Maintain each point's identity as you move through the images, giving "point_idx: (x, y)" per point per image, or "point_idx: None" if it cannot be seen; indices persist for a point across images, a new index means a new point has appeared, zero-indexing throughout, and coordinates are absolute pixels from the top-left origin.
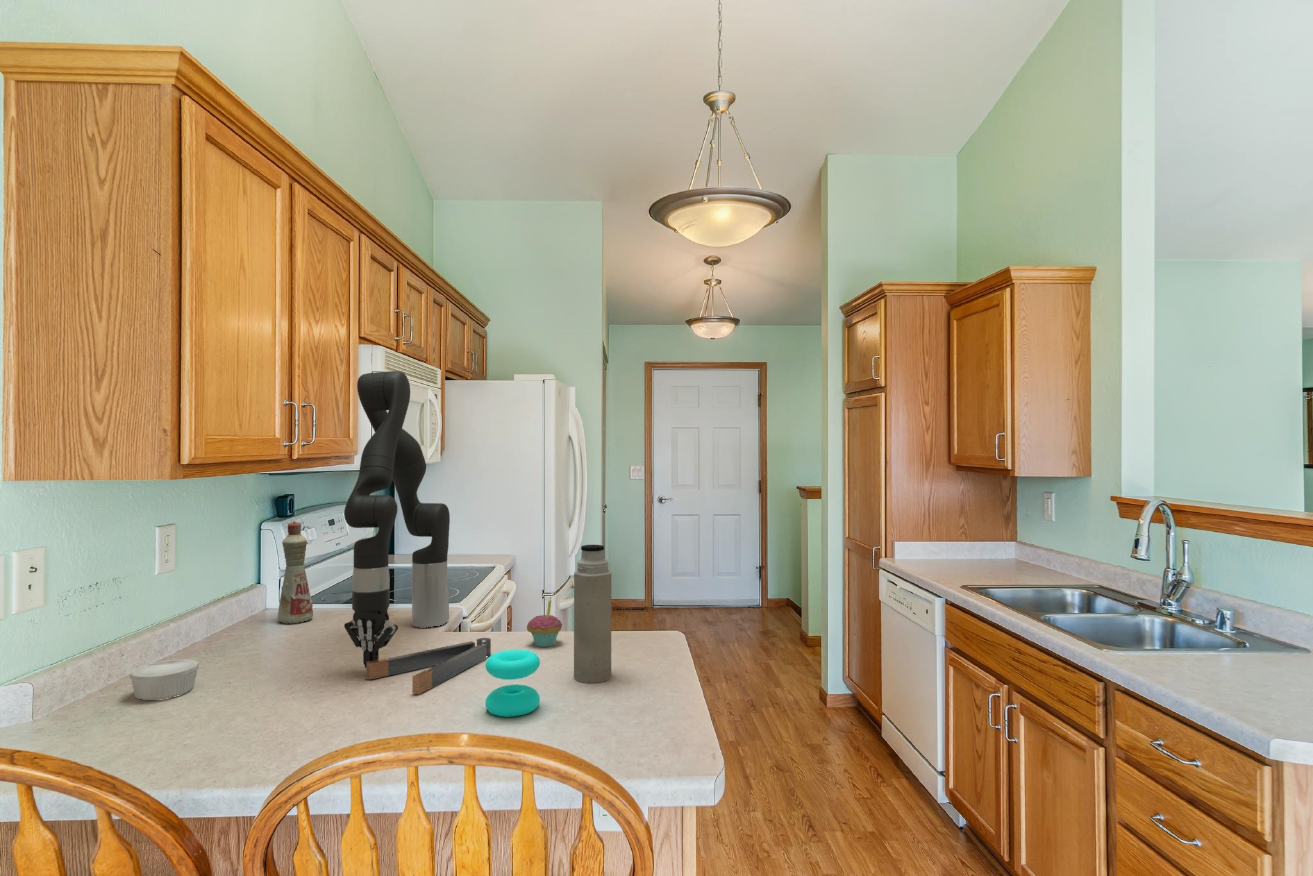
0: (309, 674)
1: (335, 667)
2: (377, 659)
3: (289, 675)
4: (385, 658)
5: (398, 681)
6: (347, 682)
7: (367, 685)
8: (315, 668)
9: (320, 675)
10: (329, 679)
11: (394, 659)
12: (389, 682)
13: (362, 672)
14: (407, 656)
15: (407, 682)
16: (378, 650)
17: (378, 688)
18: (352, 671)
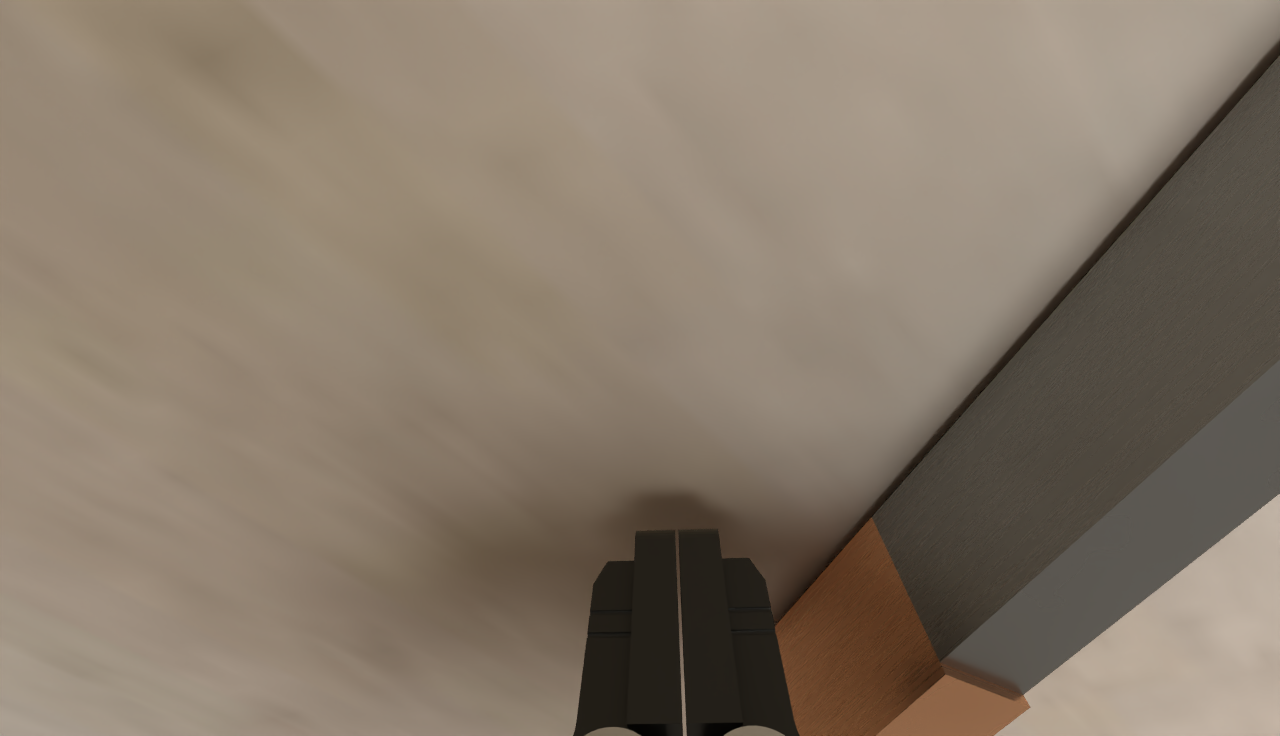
0: (213, 683)
1: (192, 512)
2: (771, 625)
3: (114, 730)
4: (959, 691)
5: None
6: None
7: None
8: (72, 584)
9: (315, 675)
10: (474, 707)
11: (1083, 643)
12: None
13: (579, 529)
14: (1251, 504)
15: (1216, 585)
16: (797, 733)
17: (1009, 725)
18: (461, 539)
